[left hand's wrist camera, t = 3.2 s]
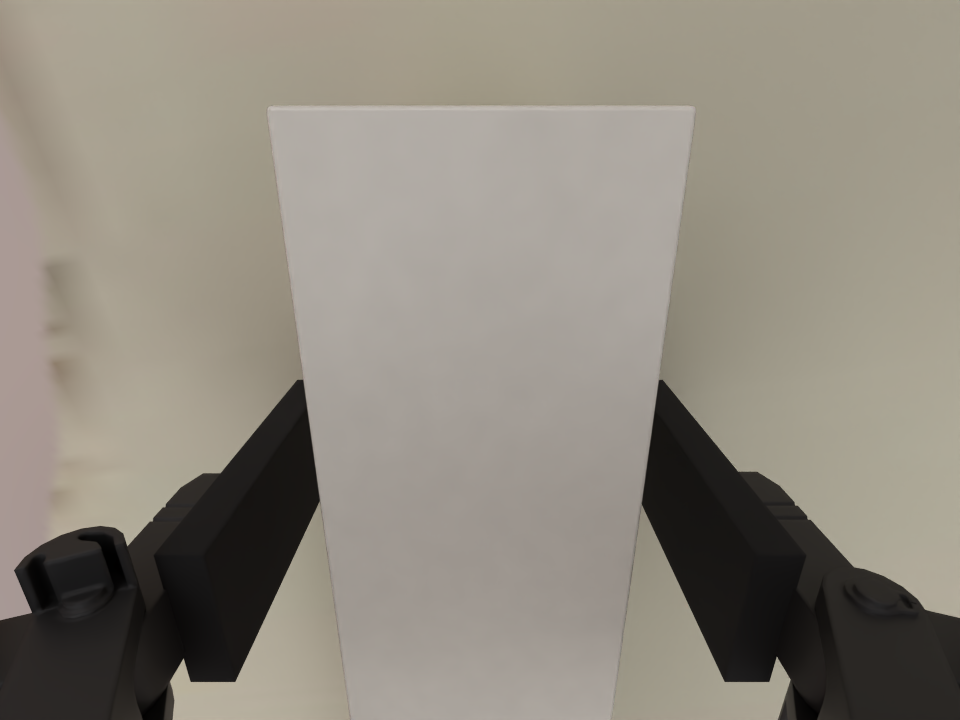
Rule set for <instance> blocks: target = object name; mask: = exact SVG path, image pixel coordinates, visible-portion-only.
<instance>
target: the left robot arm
mask: <svg viewBox="0 0 960 720" xmlns="http://www.w3.org/2000/svg"><path fill="white" fill-rule="evenodd" d="M319 501H320V497H319V489H318V482H317V475H316V468H315V460H314V453H313V446H312V438H311V431H310V424H309V417H308V409H307V402H306V395H305V388H304V380H297V381H296V382H295V384H294V385H293V386H292V387H291V388H290V390H289V391H288V392H287V393H286V394H285V396H284V397H283V398H282V399H281V401H280V402H279V403H278V404H277V405H276V407H275V408H274V409H273V410H272V411H271V413H270V414H269V415H268V416H267V418H266V419H265V420H264V421H263V422H262V424H261V425H260V426H259V427H258V429H257V430H256V431H255V432H254V433H253V435H252V436H251V437H250V438H249V439H248V441H247V442H246V443H245V444H244V446H243V447H242V448H241V449H240V450H239V452H238V453H237V454H236V455H235V456H234V458H233V459H232V460H231V461H230V463H229V464H228V465H227V466H226V467H225V469H224V470H223V471H222V472H221V473H203V474H202V475H200V476H198V477H197V478H195V479H194V480H192V481H191V482H189V483H187V484H186V485H184V486H183V487H181V488H180V489H179V490H178V491H177V492H176V494H175V495H174V496H173V497H172V498H171V499H170V500H169V501H168V502H167V504H166V507H165V508H162V509H161V510H160V511H159V512H158V513H157V515H156V516H155V517H154V518H153V522H149V523H148V524H147V526H146V527H145V528H144V529H143V530H142V531H141V532H140V533H139V534H138V535H137V537H136V538H135V539H134V540H133V541H132V542H131V543H130V544H129V545H128V547H127V544H126V541H125V538H124V535H123V533H122V532H120V531H119V530H117V529H116V528H112V527H104V526H97V527H90V528H83V529H79V530H76V531H73V532H70V533H67V534H63V535H61V536H59V537H57V538H55V539H53V540H51V541H49V542H47V543H45V544H43V545H41V546H39V547H38V548H37V549H35V550H34V551H33V552H31V553H30V554H29V555H27V556H26V557H25V558H24V559H23V560H22V561H21V562H20V564H19V565H18V566H17V567H16V569H15V570H14V571H15V573H16V576H17V578H18V580H19V583H20V585H21V587H22V590H23V592H24V595H25V597H26V599H27V602H28V604H29V606H30V609H31V611H32V613H30V614H26V615H22V616H17V617H13V618H9V619H5V620H0V720H172V719H173V708H174V696H173V690H172V687H171V684H170V680H171V678H172V677H173V675H174V673H175V672H176V670H177V668H178V667H179V665H180V663H181V662H182V660H183V658H184V661H185V664H186V667H187V671H188V674H189V678H190V681H191V682H235V681H236V679H237V677H238V675H239V673H240V671H241V668H242V666H243V664H244V662H245V660H246V658H247V656H248V653H249V651H250V649H251V647H252V645H253V643H254V641H255V638H256V636H257V634H258V632H259V630H260V628H261V626H262V623H263V621H264V619H265V617H266V615H267V613H268V611H269V609H270V606H271V604H272V602H273V600H274V598H275V596H276V594H277V591H278V589H279V587H280V585H281V583H282V581H283V579H284V576H285V574H286V572H287V570H288V568H289V566H290V564H291V561H292V559H293V557H294V555H295V553H296V551H297V549H298V546H299V544H300V542H301V540H302V538H303V536H304V534H305V531H306V529H307V527H308V525H309V523H310V521H311V519H312V516H313V514H314V512H315V510H316V508H317V506H318V504H319ZM642 506H643V508H644V510H645V512H646V514H647V516H648V519H649V521H650V523H651V525H652V527H653V529H654V531H655V534H656V536H657V538H658V540H659V542H660V544H661V546H662V549H663V551H664V553H665V555H666V557H667V559H668V561H669V564H670V566H671V568H672V570H673V572H674V574H675V576H676V579H677V581H678V583H679V585H680V587H681V589H682V591H683V593H684V596H685V598H686V600H687V602H688V604H689V606H690V608H691V611H692V613H693V615H694V617H695V619H696V621H697V623H698V626H699V628H700V630H701V632H702V634H703V636H704V638H705V641H706V643H707V645H708V647H709V649H710V651H711V653H712V656H713V658H714V660H715V662H716V664H717V666H718V668H719V671H720V673H721V675H722V677H723V679H724V681H725V682H769V681H770V678H771V674H772V671H773V667H774V664H775V661H776V657H778V659H779V661H780V662H781V664H782V666H783V667H784V669H785V671H786V672H787V674H788V676H789V677H790V679H791V680H790V684H789V687H788V690H787V693H786V696H785V699H784V703H783V706H782V709H781V712H780V715H779V718H778V720H960V618H957V617H953V616H948V615H944V614H940V613H935V612H931V611H927V610H925V609H924V608H923V606H922V605H921V603H920V602H919V601H918V599H916V598H915V597H914V596H913V595H912V594H910V593H909V592H908V591H907V590H906V589H904V588H903V587H902V586H900V585H898V584H897V583H895V582H893V581H891V580H890V579H888V578H886V577H884V576H882V575H879V574H876V573H873V572H871V571H868V570H865V569H860V568H854V567H853V566H852V565H851V564H850V563H849V562H848V560H847V559H846V558H845V557H844V556H843V555H842V554H841V553H840V552H839V551H838V549H837V548H836V547H835V546H834V545H833V544H832V543H831V542H830V541H829V540H828V539H827V537H826V536H825V535H824V534H823V533H822V532H821V531H820V530H819V529H818V528H817V526H816V525H815V524H814V523H813V522H812V521H811V520H808V519H807V516H806V514H805V513H804V512H803V511H802V510H801V509H800V508H799V507H798V506H795V502H794V501H793V500H792V499H791V498H790V497H789V496H788V495H787V494H786V492H785V491H784V490H783V489H782V488H781V487H780V486H779V485H777V484H776V483H774V482H772V481H771V480H769V479H768V478H766V477H765V476H763V475H761V474H760V473H758V472H738V471H737V470H736V469H735V467H734V466H733V465H732V464H731V463H730V461H729V460H728V459H727V458H726V456H725V455H724V454H723V453H722V452H721V450H720V449H719V448H718V447H717V446H716V444H715V443H714V442H713V441H712V439H711V438H710V437H709V436H708V435H707V433H706V432H705V431H704V430H703V429H702V427H701V426H700V425H699V424H698V422H697V421H696V420H695V419H694V418H693V416H692V415H691V414H690V413H689V411H688V410H687V409H686V408H685V407H684V405H683V404H682V403H681V402H680V401H679V399H678V398H677V397H676V396H675V394H674V393H673V392H672V391H671V390H670V388H669V387H668V386H667V385H666V383H665V382H664V381H663V380H659V382H658V389H657V396H656V404H655V411H654V418H653V425H652V432H651V440H650V447H649V454H648V461H647V468H646V475H645V483H644V490H643V497H642Z"/></svg>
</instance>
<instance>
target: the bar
mask: <svg viewBox="0 0 960 720" xmlns="http://www.w3.org/2000/svg"><path fill="white" fill-rule="evenodd" d="M695 116H696V109H695V107H693V106H691V105H272V106H270V107H268V108H267V119H268V126H269V133H270V140H271V148H272V155H273V162H274V169H275V177H276V184H277V191H278V199H279V206H280V213H281V220H282V228H283V235H284V242H285V249H286V257H287V264H288V271H289V279H290V286H291V293H292V300H293V308H294V315H295V322H296V329H297V337H298V344H299V351H300V358H301V366H302V373H303V380H304V388H305V395H306V402H307V409H308V417H309V424H310V431H311V438H312V446H313V453H314V460H315V468H316V475H317V482H318V489H319V497H320V504H321V511H322V518H323V526H324V533H325V540H326V548H327V555H328V562H329V569H330V577H331V584H332V591H333V598H334V606H335V613H336V620H337V628H338V635H339V642H340V649H341V657H342V664H343V671H344V678H345V686H346V693H347V700H348V708H349V715H350V720H612V712H613V705H614V698H615V691H616V684H617V677H618V669H619V662H620V655H621V648H622V641H623V633H624V626H625V619H626V612H627V605H628V598H629V590H630V583H631V576H632V569H633V562H634V554H635V547H636V540H637V533H638V526H639V519H640V511H641V504H642V497H643V490H644V483H645V475H646V468H647V461H648V454H649V447H650V440H651V432H652V425H653V418H654V411H655V404H656V396H657V389H658V382H659V375H660V368H661V361H662V353H663V346H664V339H665V332H666V325H667V317H668V310H669V303H670V296H671V289H672V282H673V274H674V267H675V260H676V253H677V246H678V238H679V231H680V224H681V217H682V210H683V203H684V195H685V188H686V181H687V174H688V167H689V159H690V152H691V145H692V138H693V131H694V124H695Z"/></svg>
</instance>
